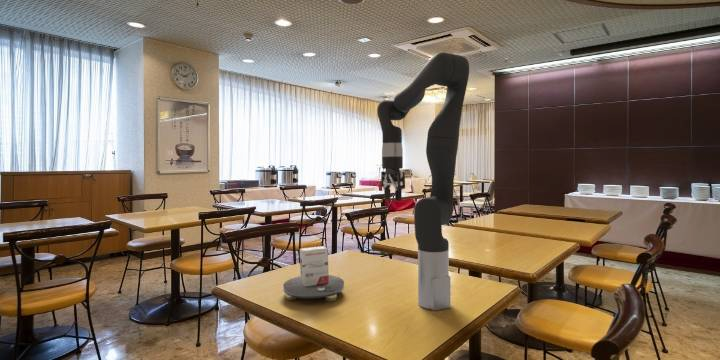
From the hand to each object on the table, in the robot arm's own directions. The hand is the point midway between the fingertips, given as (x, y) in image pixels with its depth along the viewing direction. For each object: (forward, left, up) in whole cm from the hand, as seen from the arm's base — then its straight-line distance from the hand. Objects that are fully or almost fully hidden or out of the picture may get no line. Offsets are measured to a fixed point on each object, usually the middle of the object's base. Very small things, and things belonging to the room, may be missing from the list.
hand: (392, 199), depth 140 cm
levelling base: (-2, +31, -30) cm, 43 cm away
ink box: (-2, +31, -26) cm, 41 cm away
